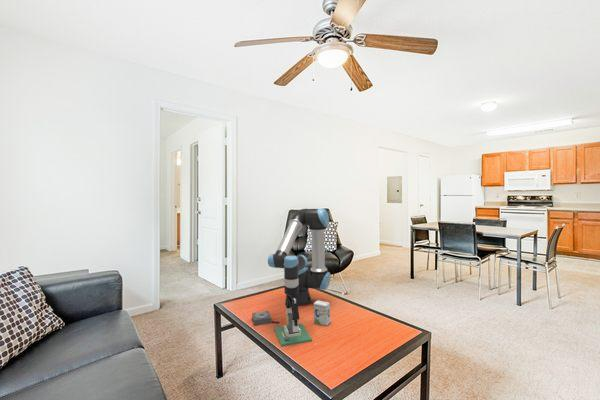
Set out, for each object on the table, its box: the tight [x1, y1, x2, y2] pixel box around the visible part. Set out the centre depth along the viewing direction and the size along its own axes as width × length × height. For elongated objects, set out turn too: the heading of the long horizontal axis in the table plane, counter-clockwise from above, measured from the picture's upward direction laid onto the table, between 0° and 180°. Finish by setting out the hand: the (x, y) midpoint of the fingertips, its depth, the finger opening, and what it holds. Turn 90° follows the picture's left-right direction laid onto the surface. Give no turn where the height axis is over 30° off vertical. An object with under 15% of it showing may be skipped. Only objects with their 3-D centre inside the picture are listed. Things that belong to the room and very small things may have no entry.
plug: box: [286, 312, 297, 334], centre depth 147 cm, size 5×4×10 cm
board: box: [274, 322, 313, 347], centre depth 148 cm, size 16×18×4 cm
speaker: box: [251, 310, 273, 326], centre depth 165 cm, size 10×10×4 cm
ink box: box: [313, 299, 331, 326], centre depth 161 cm, size 9×5×12 cm, turn 62°
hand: (292, 325), depth 147 cm, fingers open, 13 cm apart
